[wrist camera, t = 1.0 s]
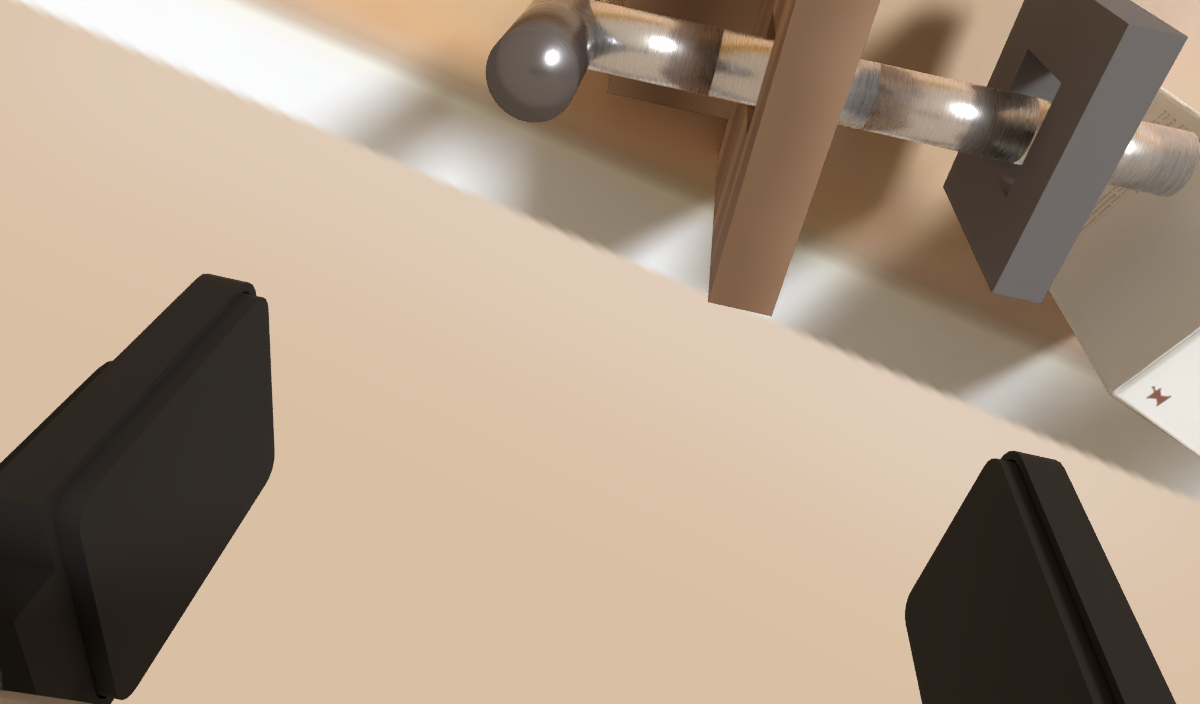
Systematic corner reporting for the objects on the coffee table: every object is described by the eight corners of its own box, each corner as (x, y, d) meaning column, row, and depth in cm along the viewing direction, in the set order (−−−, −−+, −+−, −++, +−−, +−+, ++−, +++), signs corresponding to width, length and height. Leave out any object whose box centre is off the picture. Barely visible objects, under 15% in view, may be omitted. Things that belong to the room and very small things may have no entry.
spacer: (1086, -28, 29) (1187, 37, 22) (982, 195, 33) (1040, 303, 27) (1040, -38, 29) (1128, 23, 22) (943, 186, 33) (992, 293, 27)
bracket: (862, -156, 30) (919, -115, 20) (764, 167, 37) (771, 315, 27) (663, -200, 30) (623, -179, 20) (601, 131, 37) (550, 266, 27)
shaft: (1185, 115, 27) (1283, 196, 22) (1144, 187, 28) (1227, 277, 23) (537, -27, 27) (490, 20, 22) (527, 50, 29) (481, 111, 24)
